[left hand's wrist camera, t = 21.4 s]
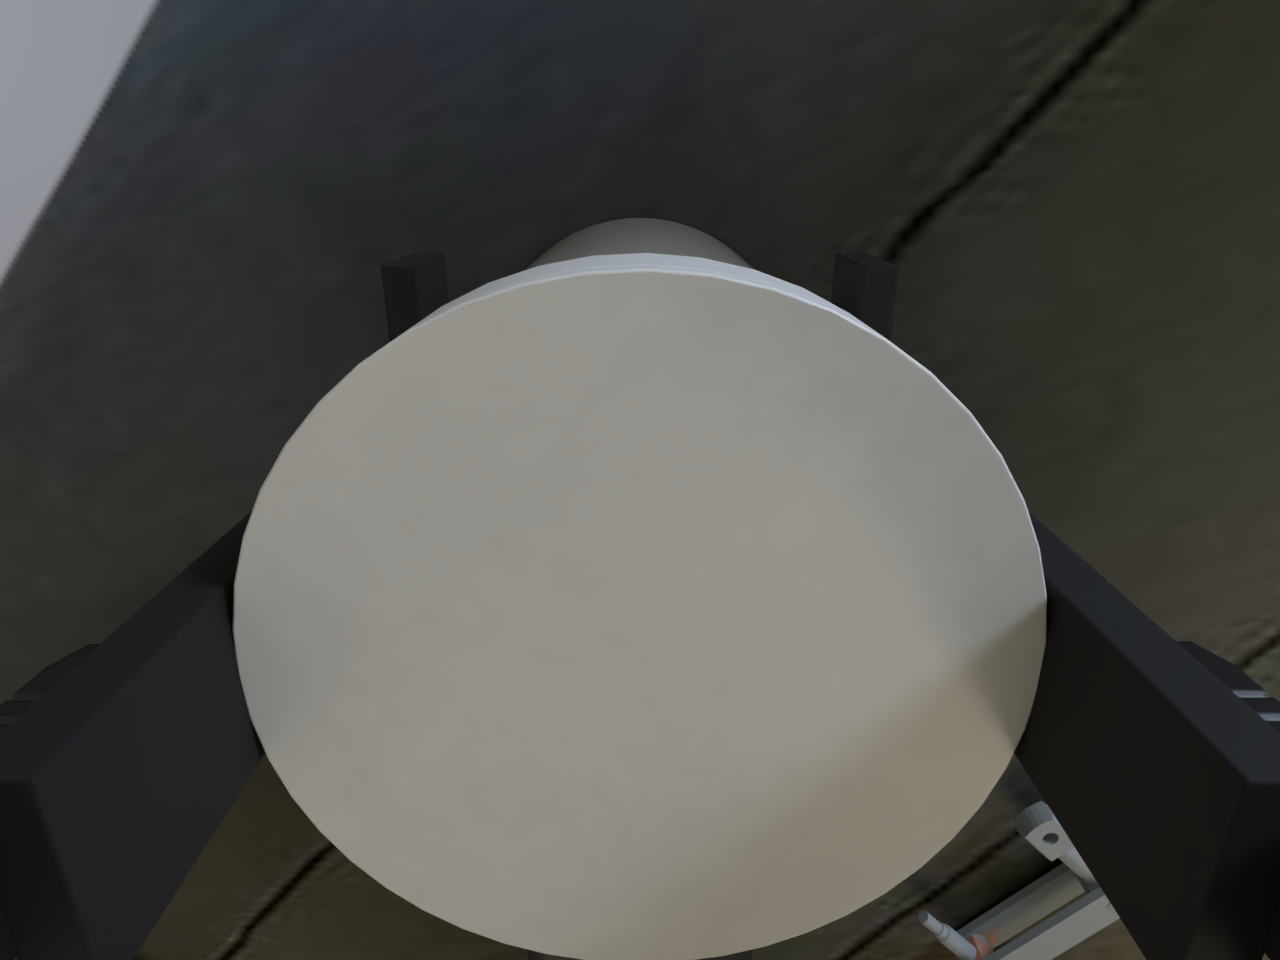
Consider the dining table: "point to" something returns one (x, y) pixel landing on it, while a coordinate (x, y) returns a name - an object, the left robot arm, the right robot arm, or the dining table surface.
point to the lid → (639, 611)
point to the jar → (639, 242)
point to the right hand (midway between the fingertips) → (639, 259)
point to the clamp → (1035, 904)
